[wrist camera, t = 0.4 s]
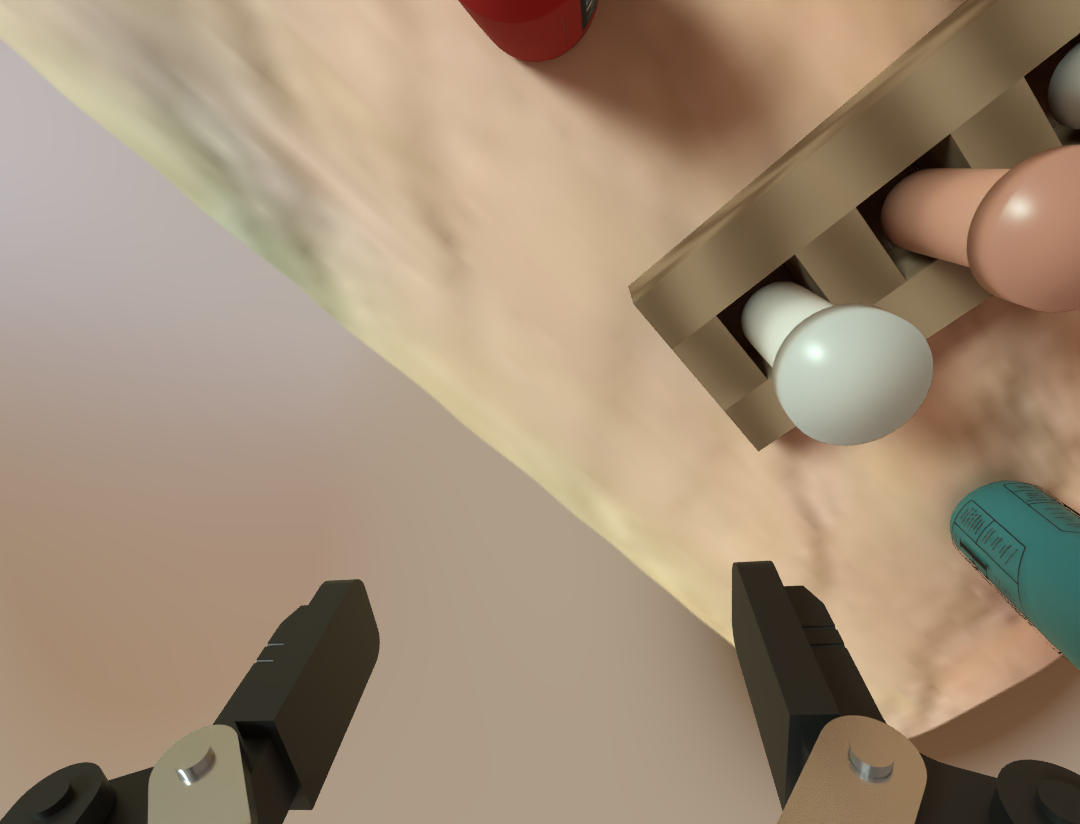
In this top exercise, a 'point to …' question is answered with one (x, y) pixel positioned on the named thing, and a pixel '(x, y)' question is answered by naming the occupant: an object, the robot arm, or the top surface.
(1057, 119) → the grey plug
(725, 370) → the walnut socket board
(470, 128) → the top surface
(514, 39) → the beverage can
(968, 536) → the beverage bottle
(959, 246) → the brown mushroom peg
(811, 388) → the grey plug
